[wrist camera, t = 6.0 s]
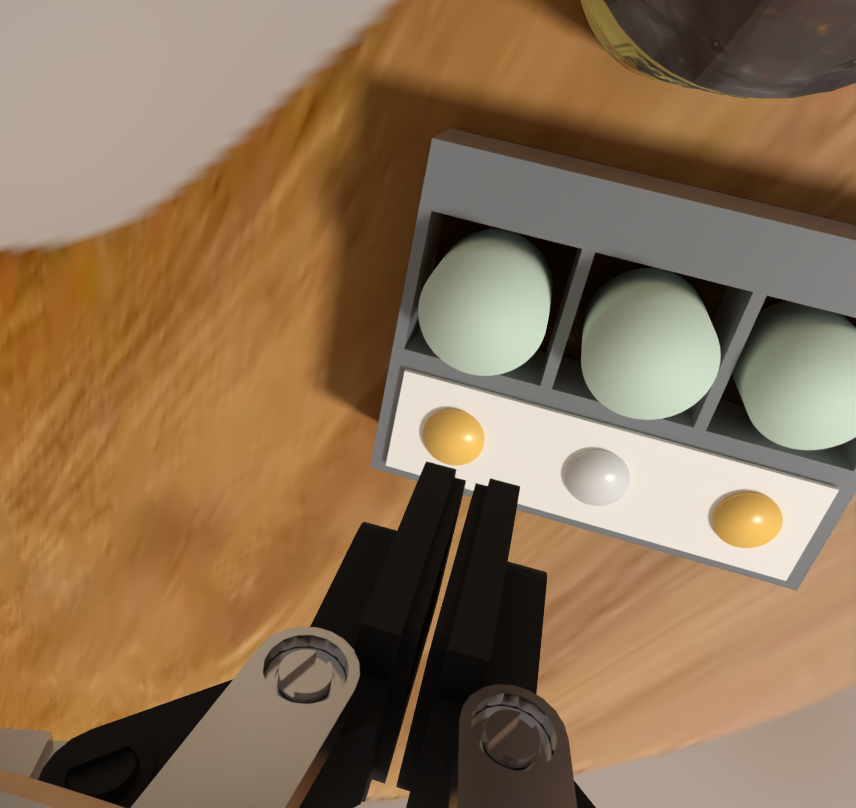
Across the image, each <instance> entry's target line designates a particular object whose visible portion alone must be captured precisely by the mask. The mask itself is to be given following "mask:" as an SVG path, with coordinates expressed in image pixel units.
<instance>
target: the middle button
mask: <svg viewBox="0 0 856 808" xmlns="http://www.w3.org/2000/svg"><path fill="white" fill-rule="evenodd" d="M720 356H721V353H720V345H719V341H718V337H717V335H716V332H715V330H714V327H713V325H712V323H711V320H710V318H709V315H708V313H707V311H706V308H705V306H704V303H703V301H702V299H701V297H700V295H699V294H698V292H697V291H696V290H695V288H694V287H693V286H692V285H691V284H690V283H689V282H688V281H686V280H685V279H683V278H682V277H680V276H679V275H677V274H674V273H672V272H669V271H666V270H662V269H657V268H640V269H634V270H630V271H627V272H624V273H621V274H619V275H617V276H615V277H613V278H612V279H610V280H608V281H607V282H606V283H605V284H603V285H602V286H601V287H600V288H599V289H598V290H597V291H596V293H595V294H594V295H593V297H592V298H591V300H590V302H589V304H588V306H587V308H586V311H585V315H584V320H583V333H582V353H581V367H582V372H583V376H584V379H585V382H586V384H587V386H588V388H589V390H590V391H591V393H592V394H593V395H594V397H595V398H596V399H597V400H598V401H599V402H600V403H602V404H603V405H604V406H605V407H607V408H608V409H610V410H611V411H613V412H615V413H618V414H620V415H623V416H626V417H629V418H634V419H642V420H654V419H662V418H666V417H670V416H673V415H676V414H679V413H681V412H683V411H685V410H687V409H688V408H690V407H691V406H693V405H694V404H696V403H697V402H698V401H699V400H700V399H701V398H702V397H703V396H704V395H705V394H706V393H707V392H708V390H709V389H710V387H711V386H712V384H713V382H714V381H715V379H716V376H717V373H718V370H719V366H720Z"/></svg>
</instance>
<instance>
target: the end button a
mask: <svg viewBox="0 0 856 808" xmlns="http://www.w3.org/2000/svg"><path fill="white" fill-rule="evenodd" d="M552 295H553V278H552V273H551V270H550V267H549V264H548V262H547V260H546V258H545V257H544V255H543V254H542V252H541V251H540V250H539V249H538V248H537V247H536V246H535V245H534V244H533V243H532V242H531V241H529V240H528V239H526V238H525V237H523V236H521V235H519V234H517V233H514V232H511V231H508V230H502V229H485V230H480V231H476V232H474V233H471V234H469V235H467V236H465V237H463V238H462V239H460V240H459V241H458V242H456V243H455V244H454V245H453V246H452V247H451V248H450V250H449V251H448V252H447V253H446V255H445V256H444V258H443V259H442V260H441V262H440V263H439V264H438V266H437V267H436V269H435V270H434V271H433V273H432V274H431V275H430V277H429V278H428V280H427V282H426V283H425V285H424V287H423V290H422V292H421V296H420V299H419V306H418V317H419V324H420V327H421V331H422V333H423V336H424V338H425V340H426V342H427V344H428V345H429V347H430V348H431V349H432V351H433V352H434V353H435V354H436V355H437V356H438V357H439V358H440V359H441V360H442V361H444V362H445V363H446V364H448V365H449V366H451V367H453V368H455V369H457V370H459V371H462V372H465V373H467V374H472V375H479V376H493V375H499V374H503V373H506V372H509V371H512V370H514V369H516V368H518V367H519V366H521V365H522V364H524V363H525V362H526V361H528V360H529V359H530V358H531V357H532V356H533V355H534V353H535V352H536V351H537V349H538V348H539V346H540V344H541V342H542V341H543V338H544V335H545V332H546V328H547V323H548V318H549V312H550V306H551V301H552Z"/></svg>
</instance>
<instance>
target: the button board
mask: <svg viewBox="0 0 856 808" xmlns="http://www.w3.org/2000/svg"><path fill="white" fill-rule="evenodd" d="M444 214H445V215H449V216H453V217H457V218H461V219H465V220H469V221H473V222H477V223H481V224H485V225H489V226H493V227H497V228H501V229H505V230H509V231H513V232H517V233H521V234H525V235H529V236H533V237H537V238H541V239H545V240H549V241H553V242H557V243H561V244H565V245H568V246H572V247H576V248H577V252H576V255H575V258H574V262H573V265H572V268H571V271H570V275H569V278H568V281H567V285H566V288H565V291H564V295H563V298H562V301H561V304H560V308H559V311H558V314H557V318H556V321H555V324H554V327H553V331H552V334H551V337H550V341H549V344H548V347H547V350H546V352H542V351H538V350H537V351H536V352H535V353H534V355H533V356H532V357H531V358H530V359H529V360H528V361H526V362H525V363H524V364H522V365H521V366H519V367H518V368H516V369H514V370H512V371H509V372H506V373H503V374H499V375H493V376H479V375H472V374H467V373H465V372H462V371H459V370H457V369H455V368H453V367H451V366H449V365H448V364H446V363H445V362H444V361H442V360H441V359H440V358H439V357H438V356H437V355H436V354H435V353H434V352H433V351H432V349H431V348H430V347H429V345H428V344H427V342H426V340H425V338H424V336H423V333H422V331H421V327H420V324H419V317H418V306H419V299H420V296H421V292H422V290H423V287H424V285H425V283H426V282H427V280H428V278H429V277H430V275H431V274H432V272H433V267H434V263H435V258H436V253H437V248H438V243H439V238H440V234H441V229H442V224H443V219H444ZM595 252H596V253H600V254H604V255H608V256H612V257H616V258H620V259H624V260H628V261H632V262H636V263H640V264H644V265H648V266H652V267H656V268H660V269H664V270H668V271H672V272H676V273H680V274H684V275H688V276H692V277H696V278H699V279H703V280H707V281H711V282H715V283H719V284H723V285H727V288H726V290H725V293H724V295H723V298H722V300H721V302H720V305H719V307H718V310H717V312H716V314H715V317H714V319H713V321H712V325H713V327H714V330H715V332H716V335H717V337H718V341H719V345H720V353H721V356H720V366H719V370H718V373H717V376H716V379H715V381H714V382H713V384H712V386H711V387H710V389H709V390H708V392H707V393H706V394H705V395H704V396H703V397H702V398H701V399H700V400H699V401H698V402H697V403H696V404H694V405H693V406H691V407H690V408H688V409H687V410H685V411H683V412H681V413H679V414H676V415H673V416H670V417H666V418H662V419H654V420H642V419H634V418H629V417H626V416H623V415H620V414H618V413H615V412H613V411H611V410H610V409H608V408H607V407H605V406H604V405H603V404H602V403H600V402H599V401H598V400H597V399H596V398H595V397H594V395H593V394H592V393H591V391H590V390H589V388H588V386H587V384H586V382H585V379H584V376H583V372H582V367H581V362H579V361H576V360H572V359H568V358H564V357H562V356H563V352H564V349H565V346H566V343H567V340H568V337H569V334H570V330H571V327H572V324H573V321H574V318H575V315H576V311H577V308H578V305H579V302H580V299H581V296H582V292H583V289H584V286H585V283H586V280H587V277H588V274H589V270H590V267H591V264H592V261H593V258H594V255H595ZM766 296H771V297H775V298H779V299H783V300H787V301H791V302H795V303H799V304H803V305H807V306H811V307H815V308H819V309H823V310H827V311H831V312H834V313H838V314H842V315H846V316H850V317H854V318H856V225H853V224H848V223H844V222H840V221H836V220H832V219H828V218H823V217H819V216H815V215H811V214H807V213H803V212H798V211H794V210H790V209H786V208H782V207H778V206H773V205H769V204H765V203H761V202H757V201H753V200H748V199H744V198H740V197H736V196H732V195H728V194H723V193H719V192H715V191H711V190H707V189H703V188H698V187H694V186H690V185H686V184H682V183H678V182H673V181H669V180H665V179H661V178H657V177H653V176H648V175H644V174H640V173H636V172H632V171H628V170H623V169H619V168H615V167H611V166H607V165H603V164H598V163H594V162H590V161H586V160H582V159H578V158H573V157H569V156H565V155H561V154H557V153H553V152H548V151H544V150H540V149H536V148H532V147H528V146H523V145H519V144H515V143H511V142H507V141H503V140H498V139H494V138H490V137H486V136H482V135H478V134H473V133H469V132H465V131H461V130H457V129H453V128H449V129H447V130H446V131H444V132H442V133H440V134H438V135H437V136H435V137H433V138H432V141H431V147H430V152H429V157H428V162H427V168H426V173H425V178H424V184H423V189H422V194H421V200H420V205H419V210H418V215H417V221H416V226H415V231H414V237H413V242H412V247H411V253H410V258H409V263H408V269H407V274H406V279H405V284H404V290H403V295H402V300H401V306H400V311H399V316H398V322H397V327H396V332H395V337H394V343H393V348H392V353H391V359H390V364H389V369H388V375H387V380H386V385H385V390H384V396H383V401H382V406H381V412H380V417H379V422H378V428H377V433H376V438H375V443H374V449H373V454H372V459H371V465H370V467H371V468H375V469H378V470H382V471H385V472H389V473H392V474H396V475H399V476H402V477H406V478H409V479H413V480H416V481H418V480H419V477H420V475H421V472H422V470H423V467H424V465H425V463H426V462H431V463H435V464H438V465H442V466H446V467H450V468H454V469H456V475H455V478H459V479H463V480H466V484H465V488H464V492H463V494H465V495H468V496H472V495H473V491H474V488H475V484H476V483H478V484H481V485H485V486H488V484H489V480H490V478H491V479H495V480H499V481H503V482H506V483H510V484H514V485H518V486H520V492H519V498H518V503H517V510H520V511H524V512H527V513H530V514H534V515H537V516H541V517H544V518H548V519H551V520H555V521H558V522H562V523H565V524H568V525H572V526H575V527H579V528H582V529H586V530H589V531H593V532H596V533H600V534H603V535H606V536H610V537H613V538H617V539H620V540H624V541H627V542H631V543H634V544H638V545H641V546H645V547H648V548H651V549H655V550H658V551H662V552H665V553H669V554H672V555H676V556H679V557H683V558H686V559H689V560H693V561H696V562H700V563H703V564H707V565H710V566H714V567H717V568H721V569H724V570H728V571H731V572H734V573H738V574H741V575H745V576H748V577H752V578H755V579H759V580H762V581H766V582H769V583H772V584H776V585H779V586H783V587H786V588H790V589H793V590H798V588H799V586H800V585H801V583H802V581H803V580H804V578H805V576H806V575H807V573H808V571H809V570H810V568H811V566H812V565H813V563H814V561H815V559H816V558H817V556H818V554H819V553H820V551H821V549H822V548H823V546H824V544H825V543H826V541H827V539H828V538H829V536H830V534H831V533H832V531H833V529H834V528H835V526H836V524H837V523H838V521H839V519H840V518H841V516H842V514H843V513H844V511H845V509H846V508H847V506H848V504H849V503H850V501H851V499H852V498H853V496H854V494H855V493H856V437H855V438H853V439H852V440H850V441H847V442H845V443H843V444H840V445H837V446H834V447H830V448H826V449H819V450H798V449H792V448H788V447H785V446H782V445H779V444H777V443H775V442H773V441H771V440H769V439H768V438H766V437H765V436H764V435H763V434H761V433H760V432H759V431H758V430H757V428H756V427H755V426H754V425H753V423H752V421H751V420H750V418H749V415H748V413H747V411H746V408H745V406H744V405H740V404H737V403H733V402H729V401H725V400H722V399H720V398H721V396H722V394H723V392H724V389H725V387H726V385H727V383H728V380H729V378H730V376H731V374H732V372H733V369H734V367H735V365H736V363H737V360H738V358H739V356H740V354H741V352H742V349H743V347H744V345H745V343H746V340H747V338H748V336H749V334H750V332H751V329H752V327H753V325H754V323H755V320H756V318H757V316H758V314H759V312H760V309H761V307H762V305H763V303H764V300H765V298H766Z"/></svg>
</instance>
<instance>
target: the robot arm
mask: <svg viewBox="0 0 856 808" xmlns="http://www.w3.org/2000/svg"><path fill="white" fill-rule="evenodd" d="M455 475H456V469H454V468H450V467H446V466H442V465H438V464H435V463H431V462H426V463H425V465H424V467H423V470H422V472H421V475H420V477H419V480H418V482H417V484H416V487H415V489H414V492H413V494H412V497H411V499H410V501H409V504H408V506H407V509H406V511H405V514H404V516H403V518H402V521H401V523H400V526H399V528H398V531H396V530H392V529H389V528H385V527H381V526H378V525H374V524H370V523H367V522H363V523H362V524H361V526H360V527H359V529H358V531H357V533H356V535H355V537H354V539H353V541H352V543H351V545H350V547H349V549H348V551H347V553H346V555H345V557H344V560H343V562H342V564H341V566H340V568H339V570H338V572H337V574H336V576H335V578H334V580H333V582H332V584H331V586H330V588H329V590H328V592H327V594H326V596H325V598H324V600H323V602H322V604H321V606H320V608H319V610H318V612H317V614H316V616H315V618H314V620H313V622H312V624H311V626H310V627H296V628H291V629H286V630H283V631H281V632H279V633H277V634H275V635H273V636H271V637H270V638H269V639H267V640H266V641H265V642H264V643H263V644H262V645H261V646H260V647H259V648H258V649H257V650H256V652H255V653H254V654H253V655H252V657H251V658H250V659H249V660H248V662H247V663H246V664H245V665H244V667H243V668H242V669H241V670H240V672H239V673H238V674H237V675H236V677H235V678H234V679H233V680H230V681H227V682H224V683H222V684H219V685H216V686H213V687H210V688H207V689H205V690H202V691H199V692H196V693H193V694H190V695H188V696H185V697H182V698H179V699H176V700H173V701H171V702H168V703H165V704H162V705H159V706H156V707H154V708H151V709H148V710H145V711H142V712H139V713H137V714H134V715H131V716H128V717H125V718H122V719H120V720H117V721H114V722H111V723H108V724H105V725H103V726H100V727H97V728H94V729H91V730H89V731H87V732H85V733H83V734H81V735H79V736H77V737H75V738H73V739H71V740H70V741H68V742H66V741H54V740H53V739H52V732H46V731H34V730H21V729H9V728H0V808H354V807H356V806H358V805H360V804H361V801H363V802H365V800H366V796H367V793H368V790H369V787H370V783H371V780H372V779H373V780H376V781H379V782H382V783H385V782H386V778H387V775H388V772H389V768H390V765H391V761H392V758H393V754H394V751H395V747H396V744H397V740H398V737H399V733H400V730H401V726H402V723H403V719H404V716H405V712H406V709H407V705H408V702H409V698H410V695H411V691H412V688H413V685H414V681H415V678H416V674H417V671H418V667H419V664H420V660H421V657H422V653H423V650H424V646H425V643H426V639H427V636H428V632H429V629H430V625H431V622H432V618H433V615H434V611H435V608H436V604H437V600H438V596H439V592H440V588H441V583H442V579H443V575H444V571H445V567H446V563H447V559H448V554H449V550H450V546H451V542H452V538H453V534H454V530H455V525H456V521H457V517H458V513H459V509H460V505H461V501H462V496H463V492H464V488H465V484H466V480H463V479H459V478H455ZM519 492H520V486H518V485H514V484H510V483H506V482H503V481H499V480H495V479H491V478H490V480H489V484H488V486H485V485H481V484H478V483H476V484H475V488H474V491H473V495H472V499H471V502H470V506H469V509H468V513H467V517H466V520H465V524H464V528H463V531H462V535H461V538H460V542H459V546H458V549H457V553H456V556H455V560H454V564H453V567H452V571H451V574H450V578H449V582H448V585H447V589H446V593H445V596H444V600H443V603H442V607H441V611H440V614H439V618H438V621H437V625H436V629H435V632H434V636H433V640H432V644H431V648H430V651H429V655H428V659H427V663H426V667H425V672H424V676H423V680H422V684H421V688H420V692H419V696H418V700H417V704H416V708H415V712H414V716H413V720H412V725H411V729H410V733H409V737H408V741H407V745H406V749H405V753H404V757H403V761H402V765H401V769H400V774H399V778H398V782H397V786H396V787H398V788H401V789H404V790H408V791H410V794H409V798H408V802H407V807H406V808H596V807H595V806H594V805H593V804H592V802H591V801H590V800H589V799H588V798H587V796H586V795H585V794H584V792H583V791H582V790H581V789H580V787H579V786H578V785H577V784H576V782H575V781H574V778H573V770H572V763H571V755H570V747H569V739H568V736H567V733H566V729H565V726H564V723H563V722H562V720H561V719H560V717H559V716H558V714H557V712H556V711H555V710H554V709H553V708H552V707H551V706H550V705H549V704H548V703H547V702H546V701H545V700H544V699H543V698H541V697H539V696H538V695H536V691H537V681H538V670H539V659H540V648H541V638H542V627H543V616H544V605H545V595H546V584H547V573H546V572H544V571H540V570H537V569H533V568H529V567H526V566H522V565H519V564H515V563H511V562H508V555H509V550H510V544H511V538H512V532H513V527H514V521H515V515H516V509H517V503H518V498H519Z"/></svg>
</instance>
